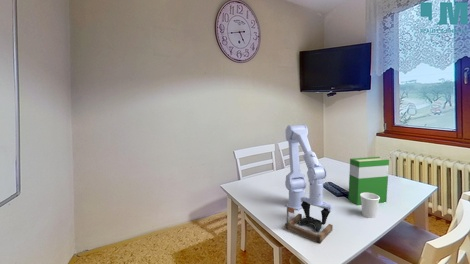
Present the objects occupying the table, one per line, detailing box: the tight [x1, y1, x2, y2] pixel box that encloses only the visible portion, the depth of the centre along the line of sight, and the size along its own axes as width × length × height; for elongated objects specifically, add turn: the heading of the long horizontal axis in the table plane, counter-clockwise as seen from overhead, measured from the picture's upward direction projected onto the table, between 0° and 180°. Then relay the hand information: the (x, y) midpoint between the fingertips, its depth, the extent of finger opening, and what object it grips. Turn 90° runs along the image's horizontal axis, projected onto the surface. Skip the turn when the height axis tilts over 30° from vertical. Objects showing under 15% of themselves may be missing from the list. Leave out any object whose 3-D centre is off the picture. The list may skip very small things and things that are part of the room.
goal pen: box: [284, 206, 334, 244], centre depth 100 cm, size 12×16×10 cm
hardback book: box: [348, 156, 390, 207], centre depth 126 cm, size 18×7×24 cm, turn 99°
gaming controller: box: [298, 216, 323, 233], centre depth 104 cm, size 10×5×6 cm
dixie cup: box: [360, 193, 380, 219], centre depth 112 cm, size 8×8×10 cm
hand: (315, 220), depth 106 cm, fingers open, 7 cm apart
